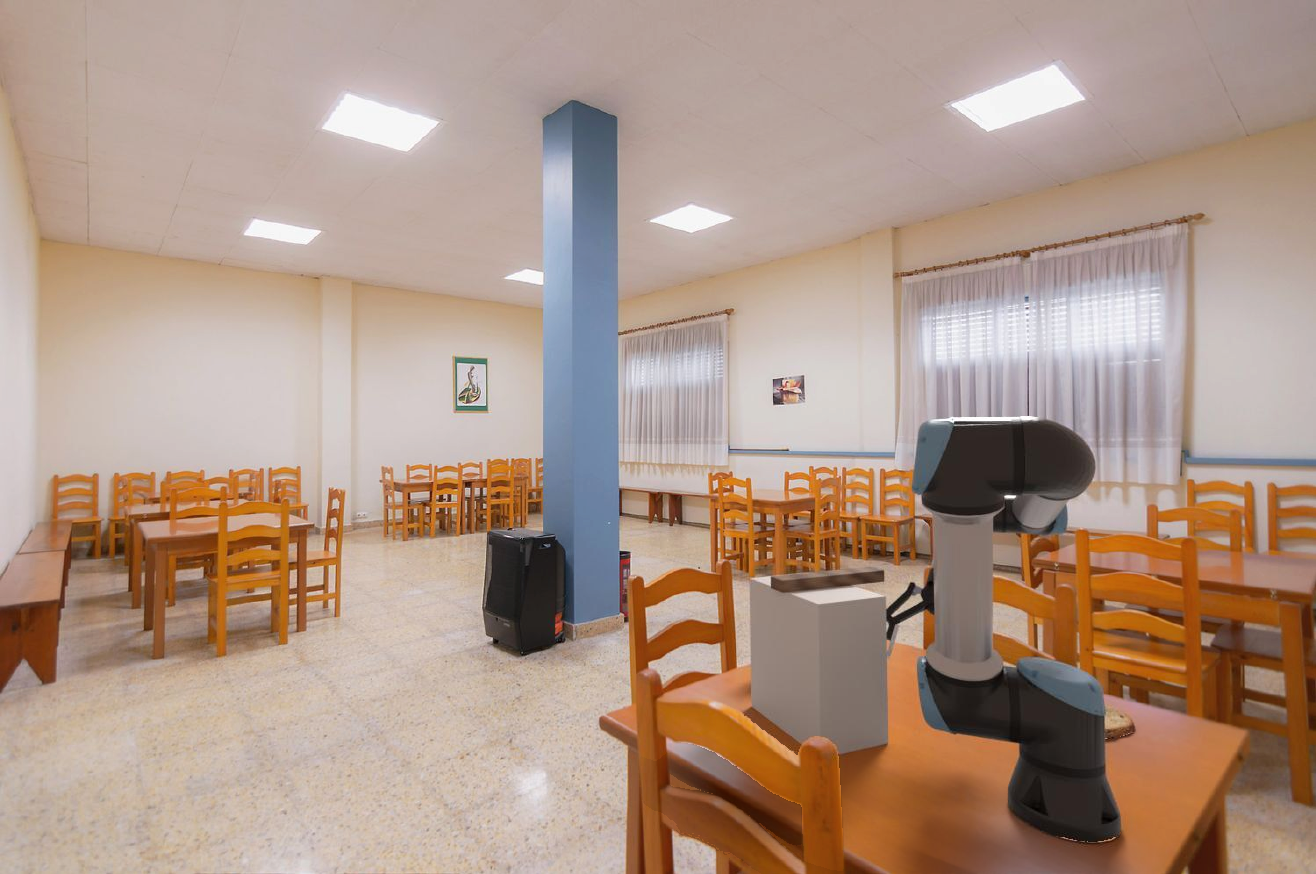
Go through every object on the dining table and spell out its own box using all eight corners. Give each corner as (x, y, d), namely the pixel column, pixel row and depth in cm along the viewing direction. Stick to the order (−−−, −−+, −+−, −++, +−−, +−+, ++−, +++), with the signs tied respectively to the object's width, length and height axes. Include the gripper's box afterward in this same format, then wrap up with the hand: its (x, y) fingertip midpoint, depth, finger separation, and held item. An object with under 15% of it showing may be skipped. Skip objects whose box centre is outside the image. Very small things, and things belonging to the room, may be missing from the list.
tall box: (810, 695, 149) (808, 572, 149) (888, 743, 124) (885, 596, 125) (751, 706, 143) (749, 578, 143) (820, 758, 119) (818, 604, 119)
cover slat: (870, 577, 142) (870, 566, 142) (884, 581, 138) (884, 570, 138) (770, 588, 133) (770, 576, 133) (782, 592, 129) (782, 580, 129)
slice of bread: (1136, 722, 133) (1135, 705, 133) (1131, 755, 119) (1131, 735, 119) (1038, 701, 145) (1037, 685, 145) (1023, 729, 131) (1023, 711, 131)
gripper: (1009, 601, 131) (987, 700, 123) (887, 560, 141) (858, 649, 133) (1018, 589, 125) (996, 693, 116) (890, 547, 135) (860, 640, 126)
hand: (923, 670), depth 124 cm, fingers open, 13 cm apart
